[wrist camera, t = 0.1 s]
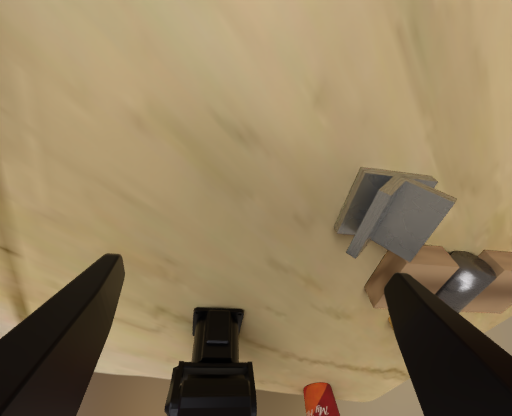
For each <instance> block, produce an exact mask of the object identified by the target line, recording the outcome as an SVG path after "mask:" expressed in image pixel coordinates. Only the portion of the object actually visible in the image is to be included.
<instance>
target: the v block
mask: <svg viewBox="0 0 512 416" xmlns="http://www.w3.org/2000/svg"><path fill="white" fill-rule="evenodd" d="M437 183H438V181H436V180H435V179H434V178H433V177H432V176H427V175H419V174H411V173H403V172H395V171H387V170H379V169H371V168H363V167H361V168H360V170H359V173H358V175H357V177H356V179H355V182H354V184H353V186H352V188H351V190H350V193H349V195H348V197H347V199H346V202H345V204H344V206H343V208H342V210H341V213H340V215H339V217H338V219H337V222H336V224H335V226H334V228H335V230H336V232H337V233H338V234H350V235H355V236H354V238H353V240H352V242H351V244H350V246H349V247H348V249H347V251H346V253H347V254H349V255H351V256H352V257H354V258H355V259H356V258H357V257H358V255H359V254H360V253H361V252H362V250H363V249H364V248H365V247H366V246H367V244H368V243H369V242H370V241H371V240H372V241H374V242H376V243H378V244H379V245H381V246H383V247H384V248H386V249H388V250H389V251H391V252H393V253H395V254H396V255H398V256H400V257H401V258H403V259H405V260H407V261H408V262H411V261H412V259H413V258H414V257H415V255H416V254H417V253H418V251H419V250H420V249H421V247H422V246H423V245H424V243H425V242H426V241H427V239H428V238H429V237H430V236H431V234H432V233H433V232H434V230H435V229H436V228H437V226H438V225H439V224H440V222H441V221H442V220H443V218H444V217H445V216H446V214H447V213H448V212H449V210H450V209H451V208H452V206H453V205H454V204H455V202H456V200H457V199H456V198H454V197H452V196H450V195H447V194H445V193H443V192H441V191H438V190H436V189H434V187H435V186H436V184H437Z"/></svg>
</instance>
